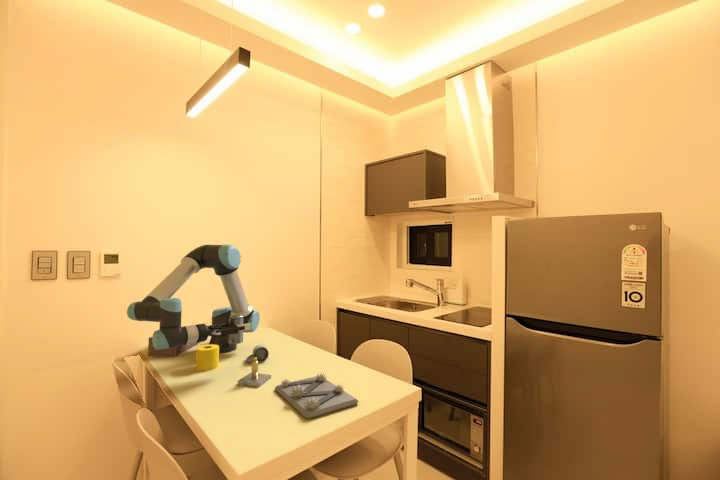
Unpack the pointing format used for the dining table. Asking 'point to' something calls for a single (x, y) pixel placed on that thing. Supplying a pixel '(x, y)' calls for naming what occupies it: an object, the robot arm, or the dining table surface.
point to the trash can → (233, 321)
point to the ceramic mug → (259, 354)
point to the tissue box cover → (167, 350)
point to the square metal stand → (254, 376)
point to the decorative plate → (315, 396)
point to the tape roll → (207, 357)
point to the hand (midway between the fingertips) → (246, 325)
